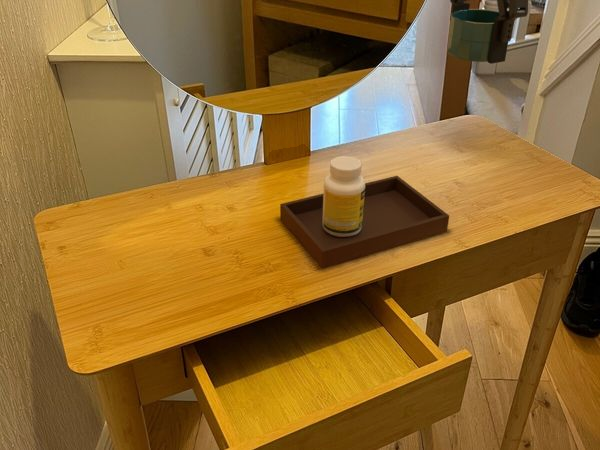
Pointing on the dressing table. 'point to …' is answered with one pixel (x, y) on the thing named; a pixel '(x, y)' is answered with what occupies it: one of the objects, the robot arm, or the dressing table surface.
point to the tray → (366, 222)
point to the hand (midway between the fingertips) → (475, 53)
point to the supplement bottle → (343, 197)
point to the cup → (471, 34)
